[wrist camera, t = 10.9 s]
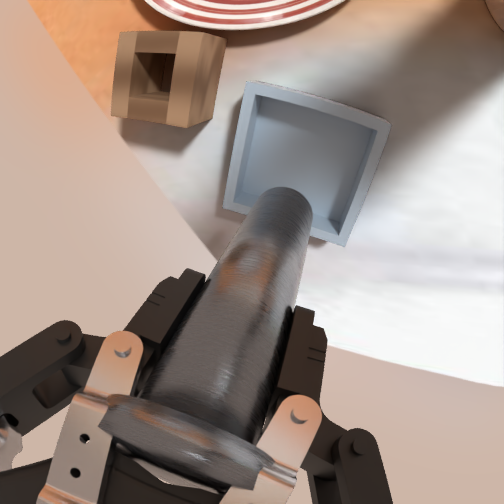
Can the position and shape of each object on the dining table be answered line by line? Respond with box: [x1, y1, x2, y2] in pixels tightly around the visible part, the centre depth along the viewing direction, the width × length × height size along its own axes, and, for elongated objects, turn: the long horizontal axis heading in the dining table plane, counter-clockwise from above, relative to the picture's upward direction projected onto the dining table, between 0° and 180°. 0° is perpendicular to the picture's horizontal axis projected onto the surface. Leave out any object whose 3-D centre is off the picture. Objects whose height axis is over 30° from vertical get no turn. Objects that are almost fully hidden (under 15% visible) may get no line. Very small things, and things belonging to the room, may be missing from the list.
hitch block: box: [111, 31, 227, 128], centre depth 25 cm, size 9×9×6 cm
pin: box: [98, 187, 313, 496], centre depth 12 cm, size 5×5×15 cm
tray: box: [222, 81, 392, 247], centre depth 28 cm, size 13×13×4 cm
